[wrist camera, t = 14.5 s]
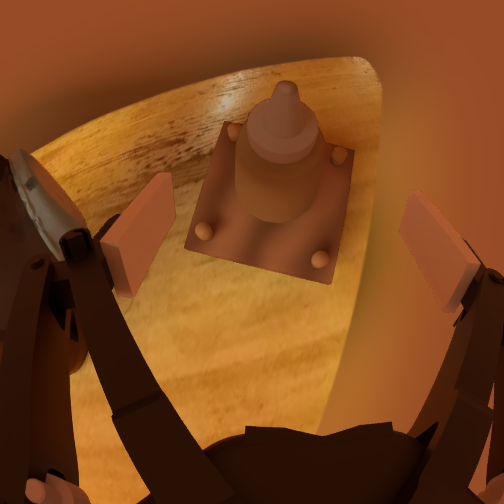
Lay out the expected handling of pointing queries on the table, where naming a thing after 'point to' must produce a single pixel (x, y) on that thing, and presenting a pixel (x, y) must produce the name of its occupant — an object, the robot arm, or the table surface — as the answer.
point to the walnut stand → (269, 233)
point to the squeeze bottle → (279, 157)
